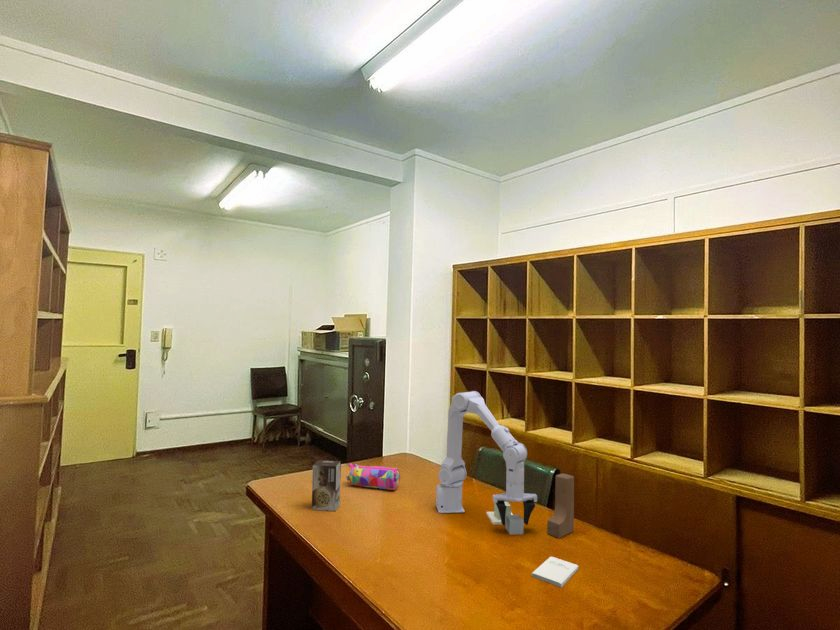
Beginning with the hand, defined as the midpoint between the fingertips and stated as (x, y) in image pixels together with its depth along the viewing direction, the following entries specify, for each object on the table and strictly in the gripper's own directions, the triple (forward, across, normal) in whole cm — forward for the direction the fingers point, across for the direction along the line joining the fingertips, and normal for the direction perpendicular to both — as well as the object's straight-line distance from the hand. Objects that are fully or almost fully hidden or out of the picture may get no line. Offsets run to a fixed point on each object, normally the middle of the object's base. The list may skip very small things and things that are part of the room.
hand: (514, 523), depth 147 cm
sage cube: (+2, -1, +10) cm, 10 cm away
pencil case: (+2, -45, +46) cm, 64 cm away
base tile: (+3, -1, +10) cm, 11 cm away
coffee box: (+2, -63, +24) cm, 67 cm away
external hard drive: (+3, +3, -26) cm, 26 cm away
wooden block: (+3, +15, -2) cm, 15 cm away
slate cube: (+2, 0, 0) cm, 3 cm away
